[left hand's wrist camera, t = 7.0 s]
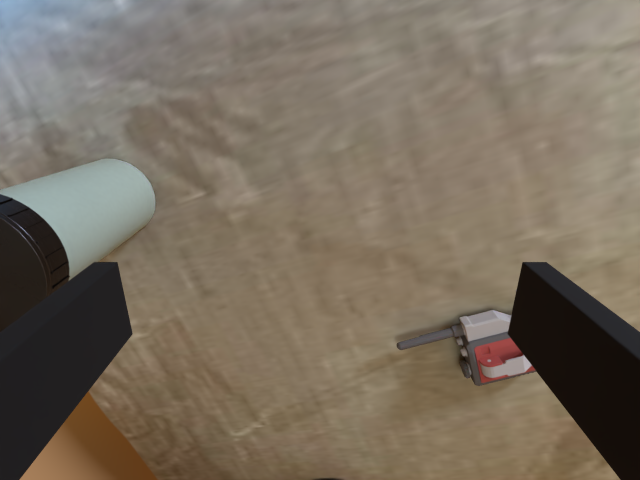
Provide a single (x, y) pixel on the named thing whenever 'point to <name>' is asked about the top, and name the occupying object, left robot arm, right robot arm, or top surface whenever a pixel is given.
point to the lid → (27, 260)
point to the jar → (90, 207)
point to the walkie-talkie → (482, 347)
